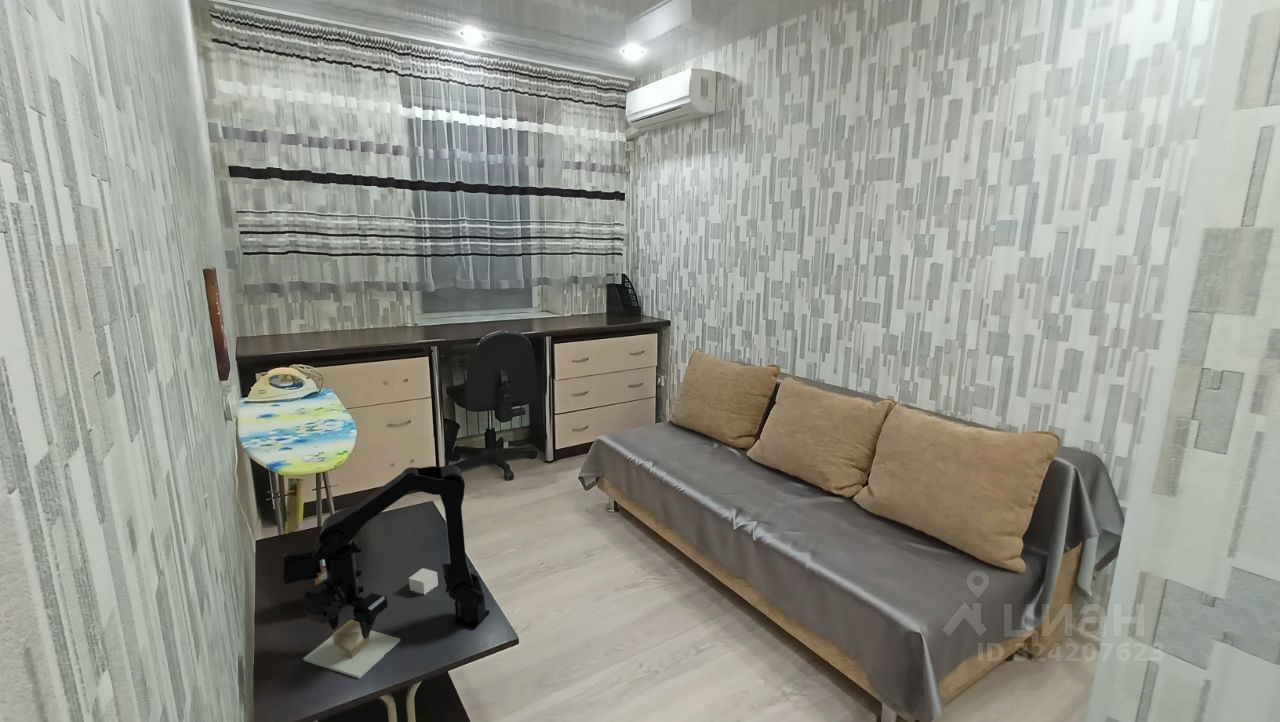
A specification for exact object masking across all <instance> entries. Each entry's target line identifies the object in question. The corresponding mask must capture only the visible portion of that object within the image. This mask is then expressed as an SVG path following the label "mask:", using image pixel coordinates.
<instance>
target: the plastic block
mask: <svg viewBox="0 0 1280 722" xmlns="http://www.w3.org/2000/svg"><path fill="white" fill-rule="evenodd" d="M438 580H439V579H438V572H437V571H435V570H432V569H431V570H430V569H427V568H424V567H422V568H420V569H419V570H418V571H417V572H415V573H414V574H413V575H411V576H410V577H408V582H409V583H408V585H409V591H410V590H411V591H415V592H418V593H421V594H424V595H425V594H426V593H427V592H429V591H430V590H431V589H432V590H434V589H435V588H436V587H438V586H439V581H438ZM434 587H435V588H434ZM433 588H434V589H433ZM432 590H431V591H432ZM411 591H410V592H411ZM431 591H430V592H431ZM415 592H414V593H415ZM430 592H429V593H430ZM418 593H417V594H418ZM421 594H420V595H421ZM427 594H428V593H427ZM427 594H426V595H427ZM424 595H423V596H424ZM426 595H425V596H426Z"/></svg>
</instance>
